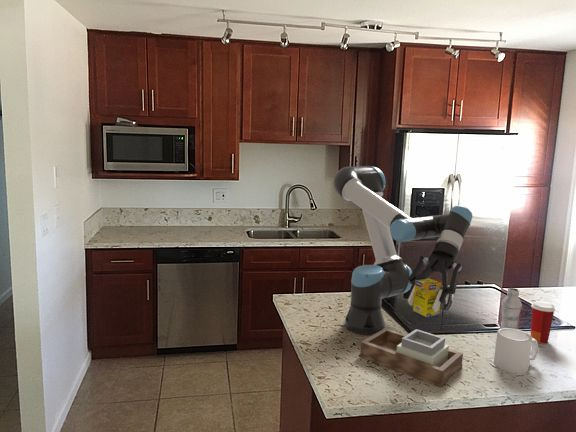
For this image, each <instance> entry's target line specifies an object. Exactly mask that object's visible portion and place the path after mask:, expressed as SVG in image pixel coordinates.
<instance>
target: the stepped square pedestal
mask: <svg viewBox="0 0 576 432" xmlns="http://www.w3.org/2000/svg"><path fill="white" fill-rule="evenodd" d="M405 335H406V336H405V337H403V338H402V343H400V344H399V345H397V353H400V354H403V355H406V356H409V357H411V358H414V359H417V360H420V361H423V362H425V363H428V364H431V365H434V366H437V367H439V368H440V367H441V366H442V365H443V364H444V363H445V362H447V360H448V350H449V349H450V348H449V347H450V345H449V344H446V338H445V337H443V336H439V335H436V334H433V333H431V332H426V331H423V330H420V329H417V328H416V329H414V330H412V331H411V332H410V333H409V332H408V334H405Z"/></svg>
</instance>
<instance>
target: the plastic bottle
mask: <svg viewBox="0 0 576 432" xmlns="http://www.w3.org/2000/svg"><path fill="white" fill-rule="evenodd" d="M506 294H507V295H506V296H505V297H504V298H503V299H502V300H501V323H500V328H499V329H502V328H511V329H517V330H519V320H520V319H519V318H520V313H521V311H522V307H523V304H522V303H523V302H521V299H520V297H519V296H520V289H518V288H515V287H508V288H507V292H506Z"/></svg>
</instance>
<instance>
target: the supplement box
mask: <svg viewBox="0 0 576 432" xmlns="http://www.w3.org/2000/svg"><path fill="white" fill-rule="evenodd" d="M442 288H443V283H442V282H440V281H437V280H435V279H434V278H433V279H432V278H430V277H427V278H426V279H422V280H416V281H415V292H414V303H413V305H412V313H413V314H414V315H417V316H418V317H421V318H423V319H425V320H428V319H432V318H438V317H440V312H441V305H440V306H439V308H438V311H437V313H436V312H434V310H433V308H432V307H433V305H434V302H435V300H436V297H437V295H438V293H439V290H442V291H443V289H442Z"/></svg>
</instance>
